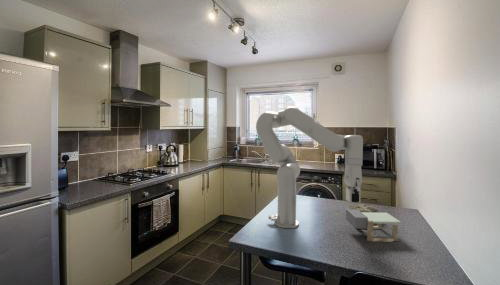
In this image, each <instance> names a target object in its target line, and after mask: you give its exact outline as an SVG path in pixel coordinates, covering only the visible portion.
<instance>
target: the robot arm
mask: <svg viewBox="0 0 500 285" xmlns="http://www.w3.org/2000/svg"><path fill="white" fill-rule="evenodd" d="M255 125H256V126H255V129H256V134H257V136H258V139H259V140H260V141H261V144H262V145H263V148H264V150H265V152H266V154H267V155H268V157H269V159H270V160H271V162H272V163H274V164H279V168H278V169H277V172H276V179H277V180H276V181H277V213H276V214H274V215H268V220H270V221H271V222H273V221H274V225H275V226H276V227H279V228H282V229H294V228H297V227H299V225H300V223H299V220H297V178H298V177H299V175H300V173H301V167H300V165H299V163H298V161H297V160H296V158H295V156H294V154H293V152H292V151H291V149H290V147H289V146H288V145H286V144H282V143H281V141H280V139H279V138H278V136H277V134H276V132H275V131H274V129H276V128H283V127H286V126H292V127H294V128H295V129H297V130H298V131H300V132H302V133H303V134H305V136H307V137H309V138H310V139H313V141H315V142H317V143H318V144H320V145H321V146H323V147H324V148H327V150H329V151H332V152H340V151H341V150H344V165H345V166H344V167H345V168H344V179H343V182H344V184H345V185H346V187H352V192H353V193H352V202H351V203H360V202H359V194H360V189H362V184H363V174H362V166H363V160H364V159H363V158H364V156H363V153H364V151H363V149H364V138H363V136H362V135H360V134H349V135H346V134H344V135H343V134H338V133H335V132H333V131H331V130H330V129H328V128H327V127H325V126H324V125H322V124H321V123H320V122H319V121H318V120H317V119H316V118H314V117H312V116H311V115H308V114H307V113H305V112H303V111H301V110H300V109H299V108H298V107H294V106H288V107H286V108H285V109H284V110H281V111H276V112H275V111H265V112H262V113H261V114H260V115H259V117H257V120H256V124H255ZM354 188H356V189H355V190H354Z"/></svg>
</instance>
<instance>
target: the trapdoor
mask: <svg viewBox="0 0 500 285" xmlns="http://www.w3.org/2000/svg"><path fill="white" fill-rule="evenodd" d="M345 218H346V221H347V222H348V223H349V224H350V225H351V226H352V227H353V228H354V229H356V228H367V226H368V221H373V224H376V225H377V224H381V225H383V224H385V225H387V224H389V225H392V224H393V225H401V224H402V221H400V220H398V218H395V217H394V216H393V215H391V214H390V213H388V212H380V213H373V212H360V211H359V210H352V209H347V208H346V210H345Z"/></svg>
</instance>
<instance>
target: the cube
mask: <svg viewBox="0 0 500 285" xmlns="http://www.w3.org/2000/svg"><path fill="white" fill-rule="evenodd" d="M355 189H356V188H354V190H355ZM361 189H362V188H361ZM361 189H360V194H359V202H358V203H361V196H362V195H361V192H362V190H361ZM352 193H353V192H352V187H347V186H345V201H347V202H348V203H353V202H352Z"/></svg>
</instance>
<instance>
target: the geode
mask: <svg viewBox="0 0 500 285" xmlns="http://www.w3.org/2000/svg"><path fill="white" fill-rule="evenodd" d="M346 209H352V210H360V212H373V213H381V212H380V211H379V208H377V207H374V206H372V205H369V206H367V204H366V203H364V204H356V205H350V206H347V207H346Z"/></svg>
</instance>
